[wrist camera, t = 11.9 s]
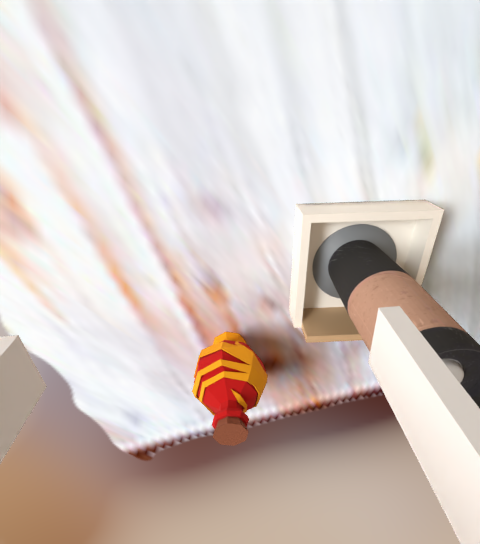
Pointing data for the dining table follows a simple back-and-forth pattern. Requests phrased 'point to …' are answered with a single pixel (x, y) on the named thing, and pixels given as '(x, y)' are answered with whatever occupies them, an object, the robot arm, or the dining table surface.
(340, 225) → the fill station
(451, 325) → the travel mug
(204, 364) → the potion bottle
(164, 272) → the dining table surface
